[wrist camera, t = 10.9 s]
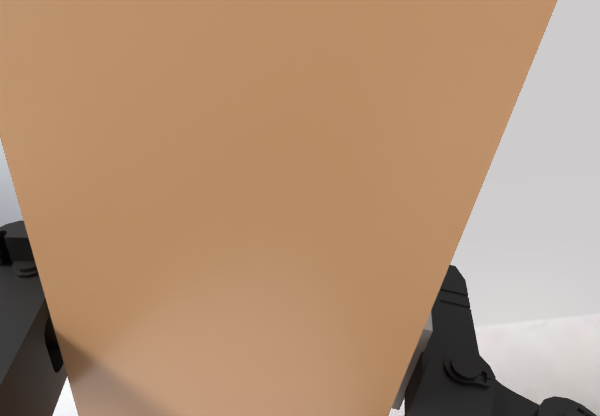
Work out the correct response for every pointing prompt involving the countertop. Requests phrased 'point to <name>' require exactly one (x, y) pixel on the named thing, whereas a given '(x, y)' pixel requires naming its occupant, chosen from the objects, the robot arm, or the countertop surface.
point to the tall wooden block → (251, 188)
